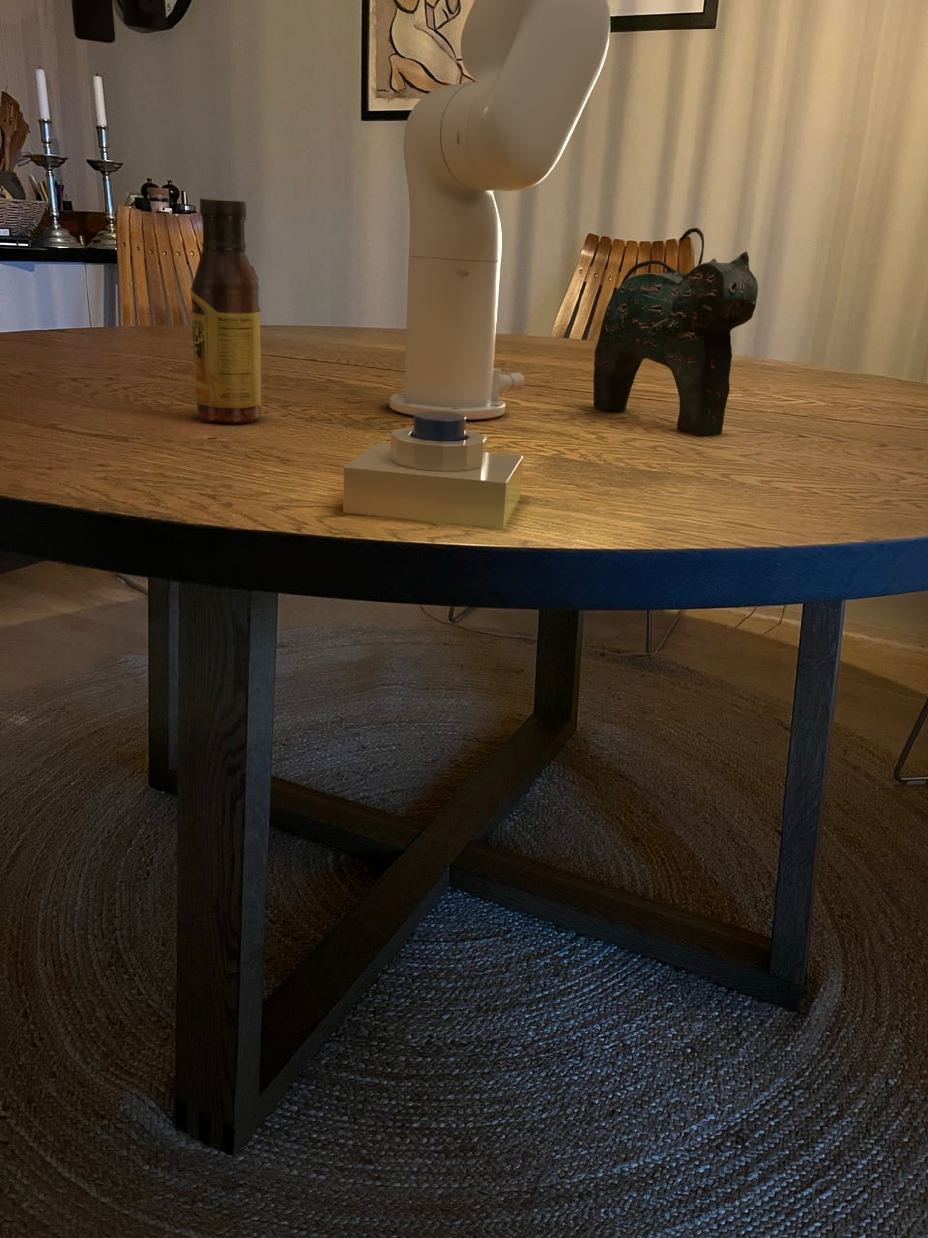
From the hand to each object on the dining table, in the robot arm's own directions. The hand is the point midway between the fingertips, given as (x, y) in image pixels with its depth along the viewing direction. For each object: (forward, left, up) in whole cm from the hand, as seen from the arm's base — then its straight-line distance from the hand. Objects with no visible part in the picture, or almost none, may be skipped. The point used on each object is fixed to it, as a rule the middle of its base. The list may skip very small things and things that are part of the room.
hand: (119, 34), depth 78 cm
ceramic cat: (-51, +16, -31) cm, 62 cm away
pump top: (-7, +33, -27) cm, 43 cm away
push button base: (-7, +33, -31) cm, 46 cm away
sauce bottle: (-9, -2, -31) cm, 33 cm away
